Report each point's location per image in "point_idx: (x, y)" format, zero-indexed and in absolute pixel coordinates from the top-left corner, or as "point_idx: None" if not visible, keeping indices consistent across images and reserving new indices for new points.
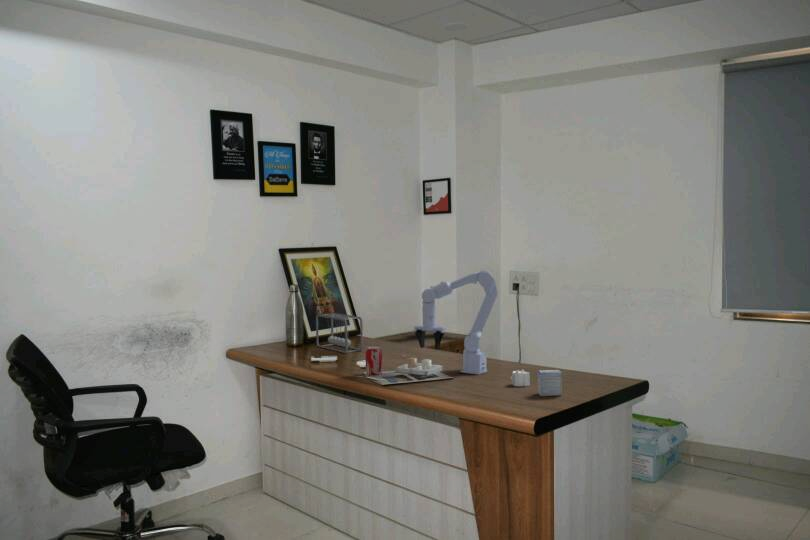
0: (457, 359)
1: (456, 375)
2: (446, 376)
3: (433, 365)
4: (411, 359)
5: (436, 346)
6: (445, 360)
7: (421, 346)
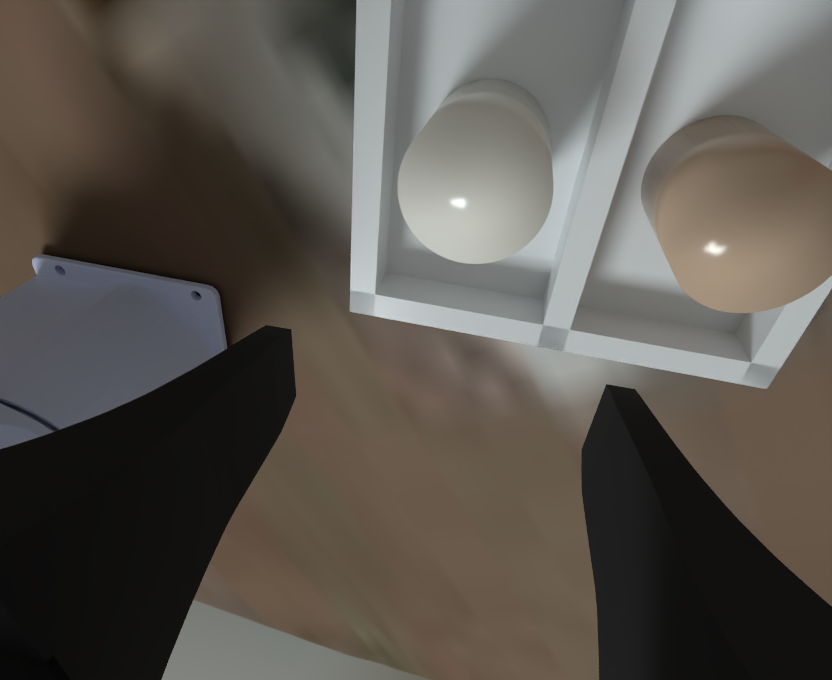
0: (473, 627)
1: (163, 166)
2: (209, 73)
3: (461, 308)
4: (757, 165)
5: (234, 345)
6: (539, 604)
7: (612, 397)
